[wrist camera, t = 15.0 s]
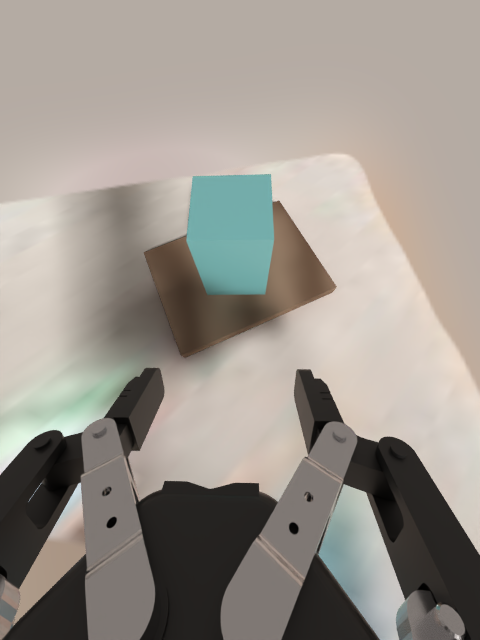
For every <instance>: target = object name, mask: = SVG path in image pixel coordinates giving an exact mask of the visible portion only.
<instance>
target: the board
mask: <svg viewBox="0 0 480 640" xmlns="http://www.w3.org/2000/svg"><path fill="white" fill-rule="evenodd" d="M272 206H273V226H274V244H273V250H272V256H271V262H270V268H269V274H268V280H267V286H266V292H265V294H252V295H207V293H206V290H205V287H204V285H203V282H202V280H201V277H200V275H199V272H198V270H197V267H196V264H195V262H194V259H193V257H192V254H191V252H190V249H189V247H188V244H187V241H186V239H187V236H185V237H183V238H180V239H178V240H175V241H172V242H170V243H167V244H164V245H162V246H159V247H157V248H154V249H151V250H149V251H146V252H144V255H145V258H146V260H147V263H148V266H149V269H150V271H151V274H152V277H153V280H154V282H155V285H156V288H157V291H158V293H159V296H160V299H161V302H162V304H163V307H164V310H165V313H166V315H167V318H168V321H169V324H170V326H171V329H172V332H173V335H174V337H175V340H176V343H177V346H178V348H179V351H180V354H181V356H183V357H184V358H185V357H188V356H190V355H192V354H194V353H197V352H199V351H201V350H203V349H206V348H208V347H210V346H213V345H215V344H217V343H219V342H222V341H224V340H226V339H228V338H231V337H233V336H235V335H237V334H240V333H242V332H244V331H246V330H249V329H251V328H253V327H255V326H258V325H260V324H262V323H264V322H267V321H269V320H271V319H273V318H276V317H278V316H280V315H283V314H285V313H287V312H289V311H292V310H294V309H296V308H298V307H301V306H303V305H305V304H307V303H310V302H312V301H314V300H316V299H319V298H321V297H323V296H325V295H328V294H330V293H332V292H333V291H334V290H335V289H336V285H335V284H334V282H333V281H332V279H331V278H330V276H329V275H328V273H327V272H326V270H325V269H324V267H323V266H322V264H321V263H320V261H319V260H318V258H317V257H316V255H315V254H314V252H313V251H312V249H311V248H310V246H309V245H308V243H307V242H306V240H305V239H304V237H303V236H302V234H301V233H300V231H299V230H298V228H297V227H296V225H295V224H294V222H293V221H292V219H291V218H290V216H289V215H288V213H287V212H286V210H285V209H284V207H283V206H282V204H281V203H280V201H277V202H274V203H272Z"/></svg>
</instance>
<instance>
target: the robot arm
mask: <svg viewBox="0 0 480 640" xmlns="http://www.w3.org/2000/svg"><path fill="white" fill-rule="evenodd" d="M163 397H164V385H163V380H162V375H161V371H160V369H159V368H145V369H144V371H143V372H142V374H141V375H140V377H135V378H134V379H132V380H131V381H130V382H129V383H128V384H127V385H126V387H125V388H124V390H123V391H122V392H121V394H120V395H119V397H118V398H117V400H116V401H115V403H114V404H113V405H112V407H111V408H110V410H109V411H108V413H107V414H106V416H105V417H104V418H103V419H100V420H97V421H95V422H93V423H92V424H90V425H89V426H88V427H87V428H86V429H85V430H84V432H82V433H78V434H74V435H70V436H66V437H64V436H63V435H62V433H61V432H60V431H58V430H51V431H47V432H45V433H42V434H40V435H38V436H37V437H35V438H34V439H32V440H31V441H30V442H29V443H28V444H27V445H26V446H25V447H24V448H23V450H22V451H21V452H20V453H19V454H18V455H17V456H16V458H15V459H14V460H13V461H12V462H11V463H10V464H9V466H8V467H7V468H6V469H5V470H4V471H3V472H2V474H1V475H0V640H380V639H379V638H378V637H377V635H376V634H375V632H374V631H373V630H372V628H371V627H370V625H369V624H368V623H367V621H366V620H365V619H364V617H363V616H362V614H361V613H360V612H359V610H358V609H357V608H356V606H355V605H354V603H353V602H352V601H351V599H350V598H349V597H348V595H347V594H346V592H345V591H344V590H343V588H342V587H341V586H340V584H339V583H338V581H337V580H336V579H335V577H334V576H333V575H332V573H331V572H330V570H329V569H328V568H327V566H326V565H325V564H324V562H323V561H322V559H321V558H320V557H319V555H318V554H319V552H320V549H321V546H322V543H323V541H324V538H325V535H326V532H327V529H328V526H329V523H330V521H331V518H332V515H333V512H334V510H335V507H336V504H337V501H338V499H339V496H340V493H341V491H342V488H343V485H344V484H345V485H348V486H351V487H353V488H356V489H359V490H362V491H364V492H366V493H367V496H368V499H369V501H370V504H371V507H372V510H373V512H374V515H375V518H376V521H377V523H378V526H379V529H380V532H381V534H382V537H383V540H384V543H385V545H386V548H387V551H388V554H389V557H390V559H391V562H392V565H393V568H394V570H395V573H396V576H397V579H398V581H399V584H400V587H401V590H402V592H403V595H404V598H405V602H404V603H403V604H402V605H401V606H400V608H399V609H398V612H397V616H396V625H397V631H398V636H399V640H480V555H479V553H478V552H477V550H476V549H475V547H474V545H473V544H472V542H471V541H470V539H469V537H468V536H467V534H466V533H465V531H464V529H463V528H462V526H461V525H460V523H459V521H458V520H457V518H456V517H455V515H454V513H453V512H452V510H451V509H450V507H449V505H448V504H447V502H446V501H445V499H444V497H443V496H442V494H441V493H440V491H439V489H438V488H437V486H436V485H435V483H434V481H433V480H432V478H431V477H430V475H429V473H428V472H427V470H426V469H425V467H424V465H423V464H422V462H421V461H420V459H419V457H418V456H417V454H416V453H415V451H414V450H413V449H412V448H411V447H410V446H409V445H408V444H406V443H405V442H403V441H402V440H400V439H397V438H394V437H383V438H381V439H380V441H379V443H378V442H374V441H371V440H368V439H364V438H361V437H359V436H357V435H356V434H355V433H354V431H353V430H352V429H351V428H350V427H349V426H347V425H345V424H344V422H343V420H342V417H341V415H340V413H339V411H338V409H337V406H336V404H335V402H334V400H333V397H332V395H331V394H330V391H329V389H328V386H327V385H326V384H325V383H324V382H323V381H322V380H321V379H314V377H313V374H312V372H311V370H306V369H297V371H296V379H295V387H294V398H295V403H296V407H297V411H298V415H299V419H300V423H301V428H302V432H303V436H304V440H305V444H306V448H307V452H308V457H304V458H303V460H302V461H301V463H300V465H299V467H298V468H297V470H296V472H295V474H294V475H293V477H292V479H291V481H290V482H289V484H288V486H287V488H286V490H285V491H284V493H283V495H282V497H281V498H280V500H279V502H277V501H276V500H275V499H273V498H272V497H270V496H269V495H267V494H265V493H262V492H259V483H233V484H229V485H225V486H221V487H217V488H214V489H208V488H205V487H202V486H199V485H196V484H193V483H190V482H183V481H165V482H164V485H163V488H162V490H159V491H156V492H154V493H152V494H150V495H148V496H146V497H145V498H143V499H142V500H140V497H139V494H138V491H137V487H136V483H135V480H134V476H133V472H132V469H131V465H130V461H129V458H128V456H129V454H130V452H131V451H140V449H141V446H142V444H143V442H144V440H145V438H146V435H147V433H148V431H149V429H150V426H151V424H152V422H153V420H154V418H155V415H156V413H157V411H158V409H159V406H160V404H161V402H162V400H163ZM41 482H42V483H41ZM80 482H81V490H82V504H83V518H84V532H85V546H86V554H85V555H84V556H83V557H82V558H81V559H80V560H79V561H78V562H77V563H76V564H75V565H74V566H73V567H72V568H71V569H70V570H69V571H68V572H67V573H66V574H65V575H64V576H63V577H62V578H61V579H60V580H59V581H58V582H57V583H56V584H55V585H54V586H53V587H52V588H51V589H50V590H49V591H48V592H47V593H46V594H45V595H44V596H43V597H42V598H41V599H40V600H39V601H38V602H37V603H36V604H35V605H34V606H33V607H32V608H31V609H30V610H29V611H28V612H27V613H25V615H23V617H21V618H20V619H19V621H18V622H17V623H16V624H15V625H14V626H13V624H14V621H15V615H16V612H17V610H18V607H19V603H20V592H19V588H20V586H21V584H22V582H23V581H24V579H25V577H26V575H27V574H28V572H29V570H30V568H31V566H32V565H33V563H34V561H35V559H36V558H37V556H38V554H39V552H40V550H41V549H42V547H43V545H44V544H45V542H46V540H47V538H48V536H49V535H50V533H51V531H52V529H53V528H54V526H55V524H56V522H57V521H58V519H59V517H60V515H61V513H62V512H63V510H64V508H65V506H66V505H67V503H68V501H69V499H70V497H71V496H72V494H73V492H74V490H75V489H76V487H77V485H78V483H80ZM40 484H41V485H40ZM39 485H40V486H39ZM38 487H39V488H38ZM37 488H38V489H37ZM36 490H37V491H36ZM35 491H36V492H35ZM34 492H35V494H34ZM33 494H34V495H33ZM32 495H33V496H32ZM31 497H32V498H31ZM30 498H31V499H30ZM29 500H30V501H29ZM28 501H29V502H28Z"/></svg>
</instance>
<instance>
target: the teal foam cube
mask: <svg viewBox="0 0 480 640" xmlns="http://www.w3.org/2000/svg"><path fill="white" fill-rule="evenodd" d="M186 241H187V244H188V247H189V249H190V252H191V254H192V257H193V259H194V262H195V264H196V267H197V270H198V272H199V275H200V277H201V280H202V282H203V285H204V287H205V290H206V293H207V295H252V294H265V292H266V286H267V280H268V274H269V268H270V262H271V256H272V250H273V244H274V226H273V206H272V187H271V174H265V175H226V176H193V180H192V189H191V199H190V209H189V219H188V229H187V239H186Z"/></svg>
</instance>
